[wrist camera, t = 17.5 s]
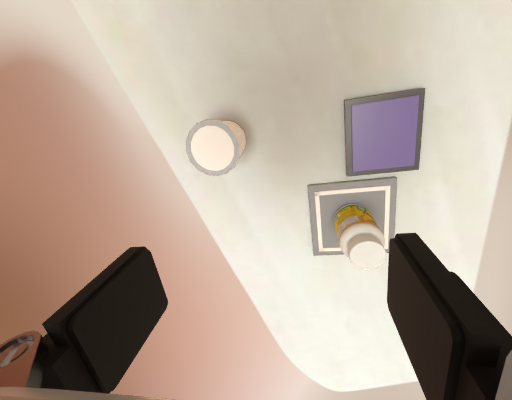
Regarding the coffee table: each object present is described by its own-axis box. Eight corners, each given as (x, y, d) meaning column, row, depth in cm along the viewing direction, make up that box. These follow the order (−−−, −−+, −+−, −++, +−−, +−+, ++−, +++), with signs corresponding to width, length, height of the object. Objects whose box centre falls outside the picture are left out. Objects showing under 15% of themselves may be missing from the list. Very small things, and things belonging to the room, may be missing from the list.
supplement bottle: (326, 213, 38) (334, 248, 29) (359, 195, 36) (378, 227, 27) (344, 240, 39) (357, 281, 30) (377, 224, 37) (401, 263, 28)
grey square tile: (307, 184, 37) (307, 186, 36) (395, 176, 35) (397, 178, 34) (313, 253, 41) (313, 256, 41) (392, 250, 39) (394, 253, 38)
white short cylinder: (258, 149, 36) (250, 160, 30) (221, 171, 39) (205, 185, 32) (234, 106, 35) (219, 108, 28) (196, 131, 37) (174, 138, 31)
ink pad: (344, 100, 32) (345, 100, 31) (421, 88, 30) (426, 87, 29) (346, 174, 36) (347, 177, 35) (415, 167, 34) (419, 170, 33)
